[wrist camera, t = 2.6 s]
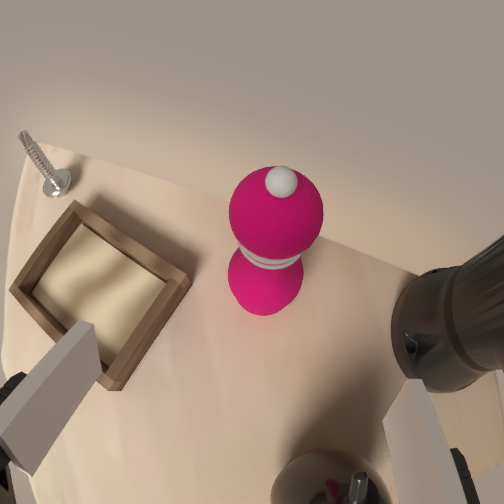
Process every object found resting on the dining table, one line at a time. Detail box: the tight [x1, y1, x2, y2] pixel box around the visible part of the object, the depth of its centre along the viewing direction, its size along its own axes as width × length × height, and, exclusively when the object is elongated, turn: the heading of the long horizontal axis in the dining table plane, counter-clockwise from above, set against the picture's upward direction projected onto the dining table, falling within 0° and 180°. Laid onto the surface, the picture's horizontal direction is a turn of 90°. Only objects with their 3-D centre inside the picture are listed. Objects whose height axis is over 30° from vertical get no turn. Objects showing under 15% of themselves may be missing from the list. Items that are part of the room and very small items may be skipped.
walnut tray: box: [9, 199, 192, 391], centre depth 32 cm, size 18×14×4 cm
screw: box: [18, 130, 71, 198], centre depth 34 cm, size 13×5×5 cm
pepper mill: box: [228, 166, 323, 316], centre depth 25 cm, size 7×7×20 cm
